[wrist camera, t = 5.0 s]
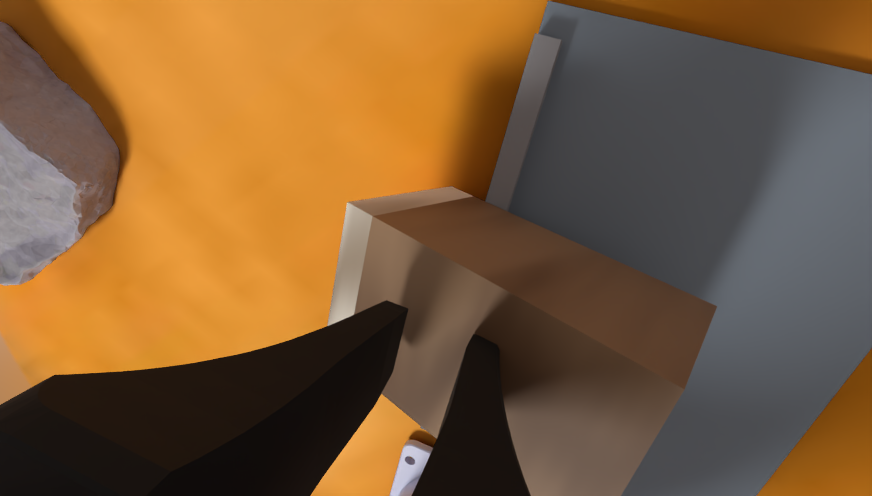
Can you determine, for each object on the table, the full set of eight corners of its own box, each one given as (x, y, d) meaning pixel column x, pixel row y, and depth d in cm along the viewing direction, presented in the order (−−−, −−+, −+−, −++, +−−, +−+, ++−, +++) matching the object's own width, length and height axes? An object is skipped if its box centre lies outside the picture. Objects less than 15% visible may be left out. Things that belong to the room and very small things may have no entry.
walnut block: (422, 301, 18) (639, 440, 14) (324, 346, 14) (582, 559, 10) (451, 186, 16) (717, 306, 12) (347, 202, 12) (684, 389, 8)
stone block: (172, 151, 23) (-10, -8, 20) (93, 187, 19) (-146, -6, 16) (95, 271, 28) (-55, 158, 26) (22, 319, 24) (-164, 189, 22)
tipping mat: (707, 545, 19) (715, 573, 18) (423, 421, 21) (414, 440, 20) (1038, 114, 12) (1085, 117, 10) (549, 2, 14) (546, -5, 13)
